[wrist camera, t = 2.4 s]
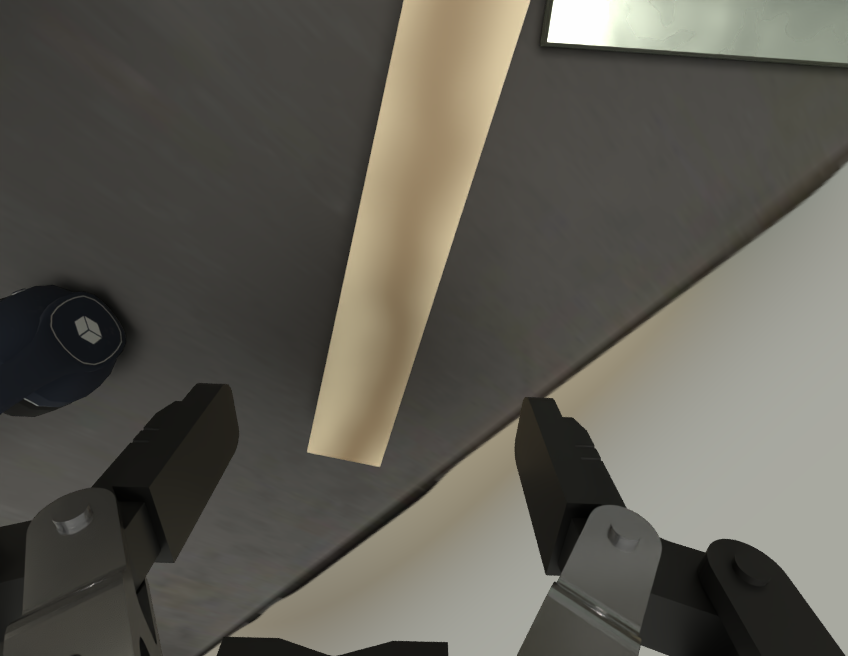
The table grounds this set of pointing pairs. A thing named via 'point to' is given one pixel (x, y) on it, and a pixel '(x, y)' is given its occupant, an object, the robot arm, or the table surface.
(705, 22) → the stand
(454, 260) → the table surface
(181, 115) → the table surface
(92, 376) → the headphones
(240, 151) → the table surface
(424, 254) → the pine rod
